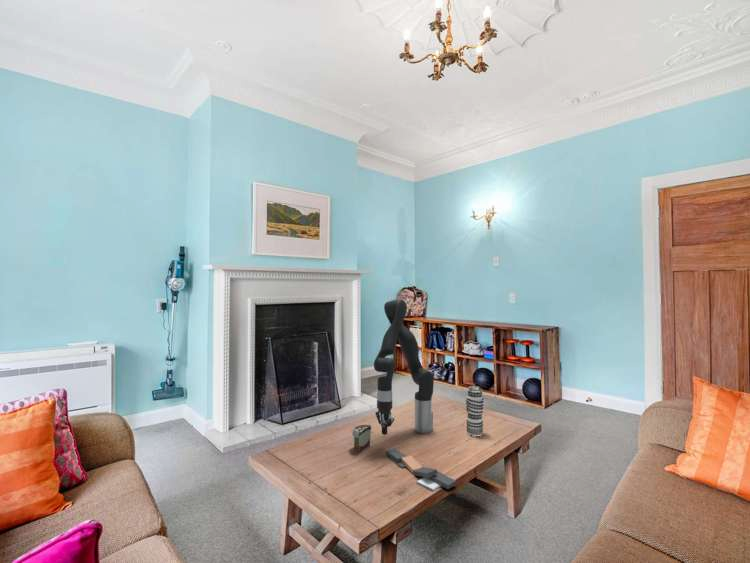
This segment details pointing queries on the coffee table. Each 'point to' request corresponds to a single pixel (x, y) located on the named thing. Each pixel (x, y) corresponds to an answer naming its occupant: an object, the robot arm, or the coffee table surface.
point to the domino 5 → (443, 480)
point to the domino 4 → (425, 472)
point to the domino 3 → (410, 463)
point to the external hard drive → (428, 484)
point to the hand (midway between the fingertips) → (384, 434)
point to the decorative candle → (474, 411)
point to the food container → (361, 437)
